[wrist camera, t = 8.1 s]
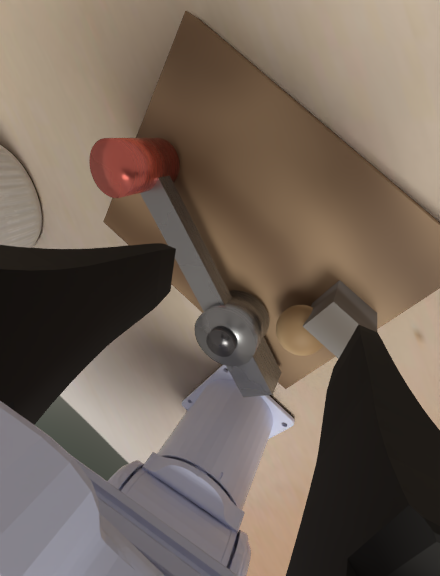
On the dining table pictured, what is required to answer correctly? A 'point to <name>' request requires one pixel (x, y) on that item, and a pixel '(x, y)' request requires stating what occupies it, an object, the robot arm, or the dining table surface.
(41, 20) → the dining table surface
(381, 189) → the board
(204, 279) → the lever
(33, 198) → the ramekin
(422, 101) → the dining table surface
